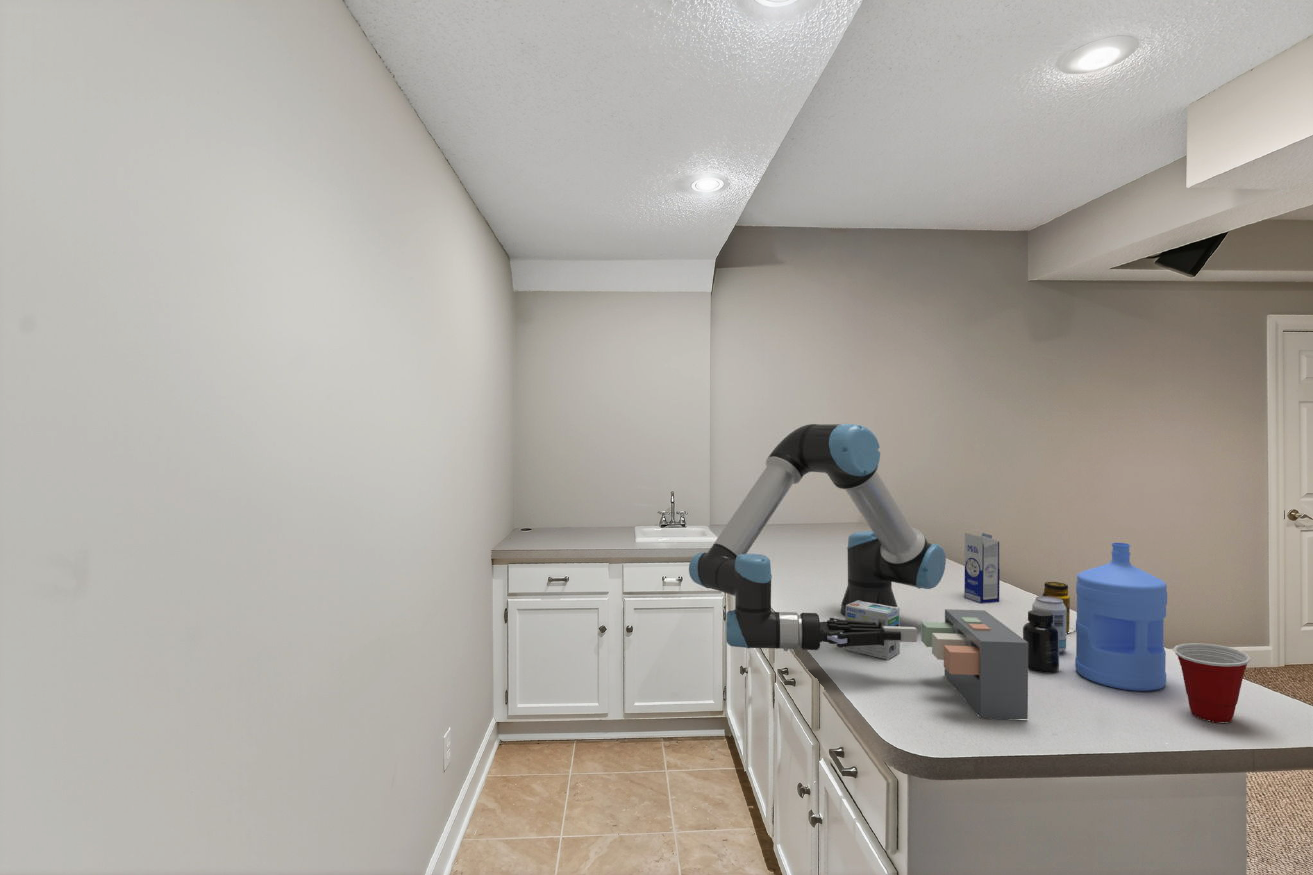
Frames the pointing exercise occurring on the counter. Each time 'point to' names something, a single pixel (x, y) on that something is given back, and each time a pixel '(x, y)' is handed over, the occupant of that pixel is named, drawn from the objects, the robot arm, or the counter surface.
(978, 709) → the key console
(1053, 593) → the condiment
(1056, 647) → the supplement bottle
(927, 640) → the sage key
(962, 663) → the terracotta key
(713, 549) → the robot arm
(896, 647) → the light bulb box
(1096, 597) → the water jug
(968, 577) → the milk carton
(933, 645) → the ivory key
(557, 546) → the counter surface
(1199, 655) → the plastic cup
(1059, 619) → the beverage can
